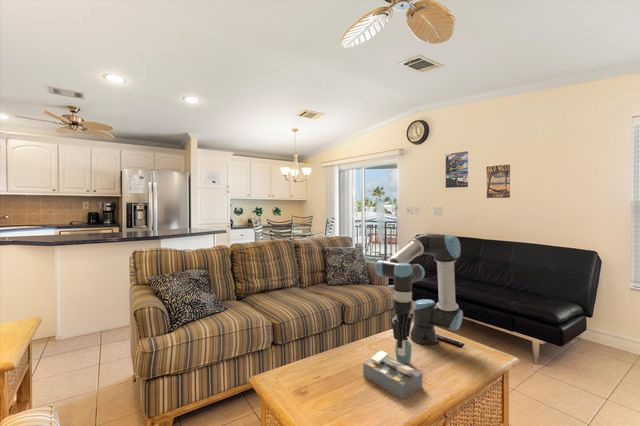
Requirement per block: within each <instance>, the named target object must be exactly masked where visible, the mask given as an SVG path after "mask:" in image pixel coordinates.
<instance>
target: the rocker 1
mask: <svg viewBox="0 0 640 426" xmlns="http://www.w3.org/2000/svg"><path fill="white" fill-rule="evenodd" d="M387 357H389V355H388V353H387V352H385V351H383V350H380V351H378V352H377V353H376V354H375V355H373V356H372V357H371V359H372V361H373V362H375V363H377V364H380V363H381V362H382V361H383V360H384V359H385V358H387ZM371 359H370V360H371Z"/></svg>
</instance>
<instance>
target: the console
mask: <svg viewBox="0 0 640 426" xmlns="http://www.w3.org/2000/svg"><path fill="white" fill-rule="evenodd" d="M385 359H389V360H393V361H396V362H398V361H397V359H394V358H392V357H390V356H388V357H387V358H385ZM385 359H384V360H383V361H382V362H381V363H380V364H377V363H375V362H373V361H372V359H369V360H367V361H365V362H363V367H362V369H363V370H362V371H363V373H362V374H363V375H362V376H363V377H365V378H366V379H368V380H370V381H372V382H373V383H374V384H377V385H378V386H380V387H381V388H383V389H384V390H386V391H387V392H389V393H390V394H391V393H392V394H393V395H394V396H396V397H398V398H399V399H401V400H404V399H405V398H407V397H409V396H411V395H412V394H414V393H415V392H416V391H419V390H420V389H421V388H423V373H422V372H420V371H418V370H416V369H414V373H408V374H404V373H402V372H400V371H398V370H397V367H396V366H392V365H390V364H388V363H386V362H385ZM398 363H400V362H398ZM400 364H401V366H407V364H402V363H400Z"/></svg>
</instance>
